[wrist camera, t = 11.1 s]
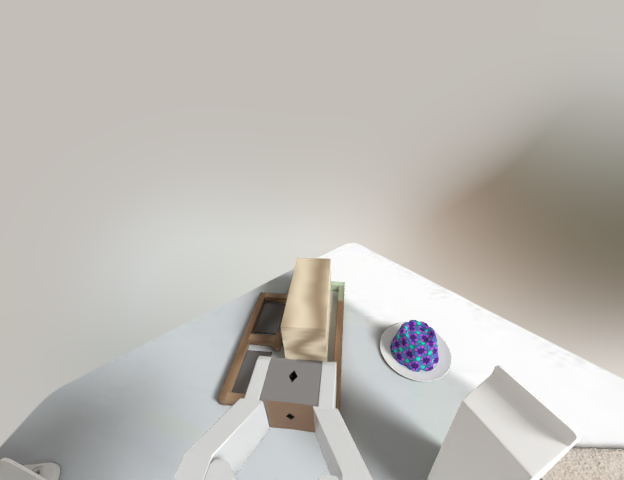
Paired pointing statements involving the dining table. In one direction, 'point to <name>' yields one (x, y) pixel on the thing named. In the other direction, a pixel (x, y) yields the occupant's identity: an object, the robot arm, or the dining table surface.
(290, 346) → the beige rectangular block
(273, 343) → the frame
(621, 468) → the washcloth
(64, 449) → the dining table surface
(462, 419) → the milk
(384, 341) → the pudding
